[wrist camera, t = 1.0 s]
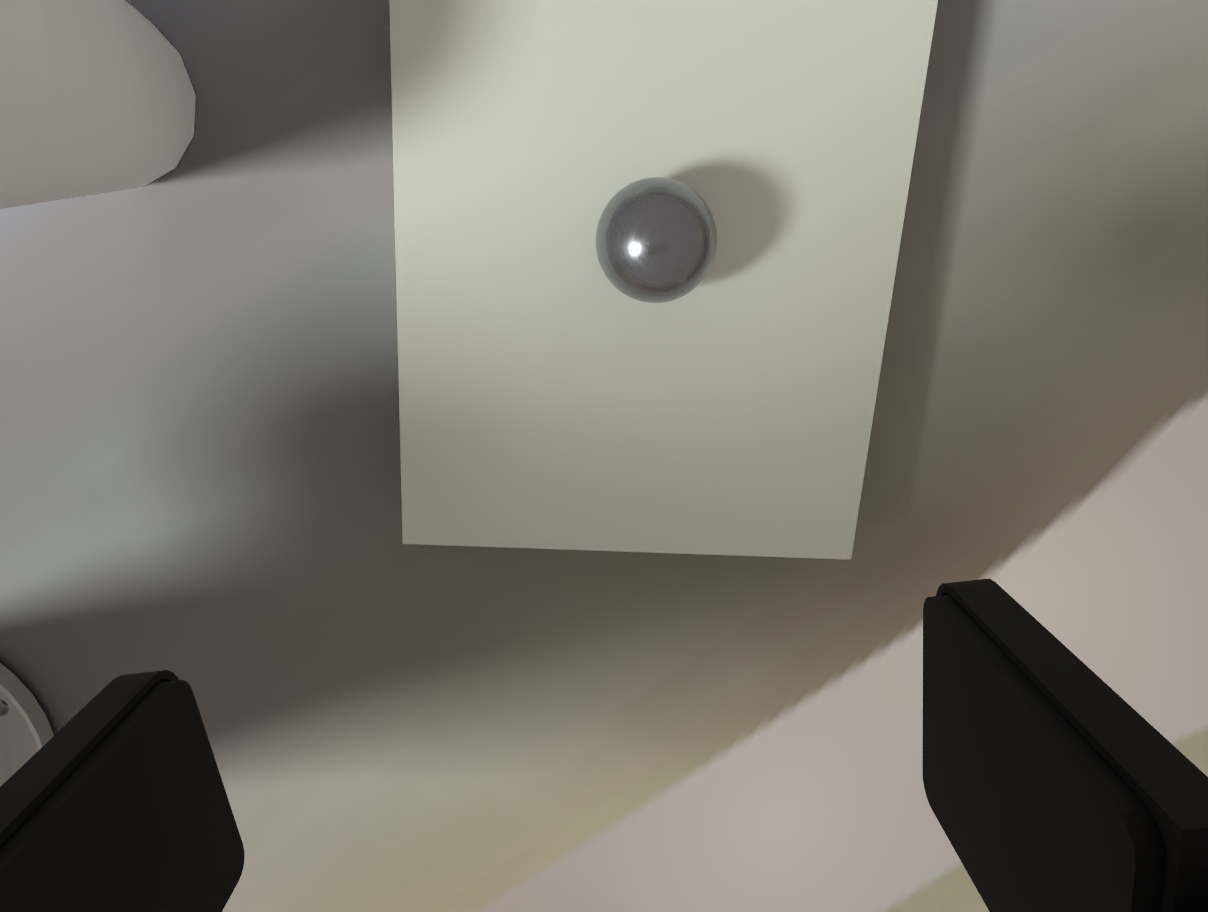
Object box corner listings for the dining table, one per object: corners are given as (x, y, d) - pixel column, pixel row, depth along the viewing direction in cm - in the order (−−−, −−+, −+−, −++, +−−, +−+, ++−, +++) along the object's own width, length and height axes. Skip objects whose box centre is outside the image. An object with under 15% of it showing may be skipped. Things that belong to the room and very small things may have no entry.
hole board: (827, 531, 34) (850, 559, 31) (418, 516, 33) (402, 543, 30) (949, -308, 25) (996, -378, 22) (402, -357, 24) (378, -435, 22)
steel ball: (701, 300, 28) (720, 311, 24) (591, 294, 28) (593, 305, 24) (711, 184, 27) (733, 176, 23) (597, 177, 26) (600, 169, 23)
